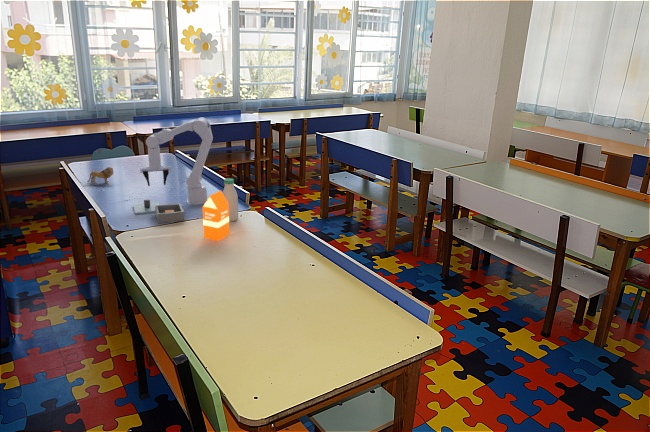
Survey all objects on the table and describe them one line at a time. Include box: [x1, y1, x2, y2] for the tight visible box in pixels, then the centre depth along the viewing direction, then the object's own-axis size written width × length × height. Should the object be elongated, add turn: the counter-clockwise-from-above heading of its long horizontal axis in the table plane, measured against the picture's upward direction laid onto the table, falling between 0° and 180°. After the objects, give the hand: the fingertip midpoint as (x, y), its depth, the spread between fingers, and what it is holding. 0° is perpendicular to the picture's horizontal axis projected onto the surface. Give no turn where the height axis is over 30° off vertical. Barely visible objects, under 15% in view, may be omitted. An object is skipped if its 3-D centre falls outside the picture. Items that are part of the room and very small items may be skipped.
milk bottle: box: [221, 177, 239, 223], centre depth 238 cm, size 8×8×20 cm
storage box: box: [155, 203, 186, 224], centre depth 239 cm, size 12×12×5 cm
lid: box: [132, 199, 161, 215], centre depth 248 cm, size 13×13×5 cm
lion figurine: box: [86, 166, 114, 185], centre depth 285 cm, size 15×5×9 cm, turn 103°
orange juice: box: [202, 189, 230, 242], centre depth 219 cm, size 8×9×20 cm
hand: (156, 184), depth 256 cm, fingers open, 7 cm apart
